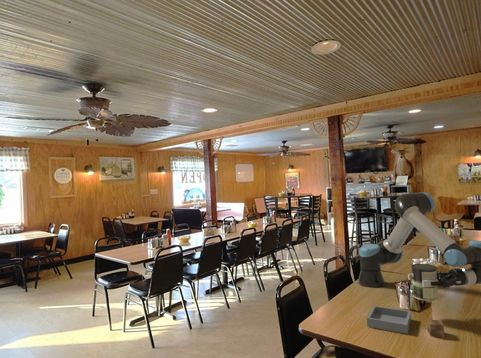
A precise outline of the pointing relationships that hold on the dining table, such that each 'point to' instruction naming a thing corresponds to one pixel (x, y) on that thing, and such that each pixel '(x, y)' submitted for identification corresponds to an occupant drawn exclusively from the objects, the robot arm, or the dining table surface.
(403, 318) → the tray
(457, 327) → the dining table surface
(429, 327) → the walnut block
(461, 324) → the dining table surface
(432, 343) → the dining table surface
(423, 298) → the coffee can
